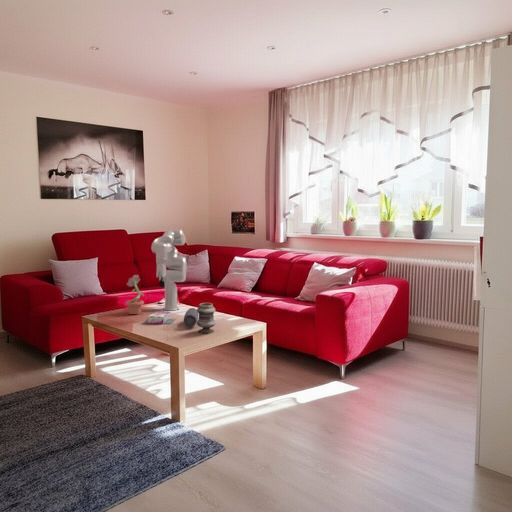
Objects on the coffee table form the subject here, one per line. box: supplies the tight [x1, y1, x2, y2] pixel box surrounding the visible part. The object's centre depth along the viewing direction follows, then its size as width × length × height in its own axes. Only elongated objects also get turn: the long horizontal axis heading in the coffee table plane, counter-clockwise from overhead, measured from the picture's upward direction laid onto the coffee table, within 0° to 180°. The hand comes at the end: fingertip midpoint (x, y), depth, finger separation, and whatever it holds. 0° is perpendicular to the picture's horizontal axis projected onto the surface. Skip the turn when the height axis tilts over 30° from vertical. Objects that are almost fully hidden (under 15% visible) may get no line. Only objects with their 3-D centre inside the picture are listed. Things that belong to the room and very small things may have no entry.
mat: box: [142, 318, 177, 325], centre depth 319 cm, size 14×20×1 cm
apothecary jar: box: [196, 302, 216, 334], centre depth 291 cm, size 12×12×18 cm
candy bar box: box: [147, 311, 171, 325], centre depth 318 cm, size 11×5×16 cm
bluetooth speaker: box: [183, 307, 199, 328], centre depth 309 cm, size 23×9×10 cm, turn 4°
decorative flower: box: [124, 274, 145, 315], centre depth 341 cm, size 15×14×30 cm
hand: (162, 286), depth 324 cm, fingers closed
